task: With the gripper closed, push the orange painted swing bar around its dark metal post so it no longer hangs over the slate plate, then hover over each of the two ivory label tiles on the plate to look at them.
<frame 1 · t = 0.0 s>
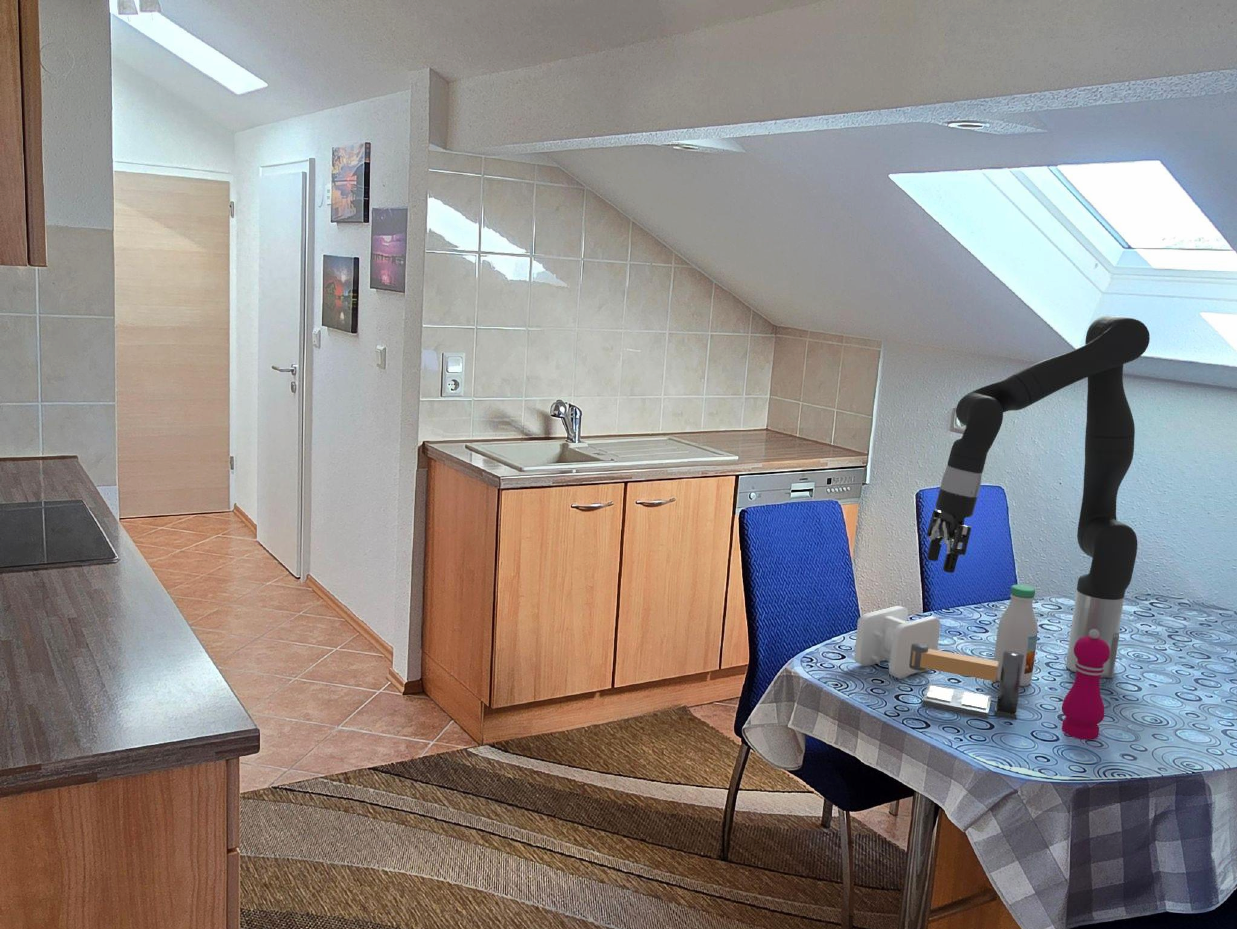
hand: (939, 565, 217), 22 cm above the table, tool pointing down, fingers open, 8 cm apart
milk bottle: (1011, 680, 217), on the table
swing bar: (953, 663, 202), point 8 cm above the table, hinge at 0.0°
pepper mill: (1079, 733, 193), on the table
cable organizer: (893, 668, 220), on the table
post: (1005, 713, 200), on the table
label plate: (956, 703, 203), on the table
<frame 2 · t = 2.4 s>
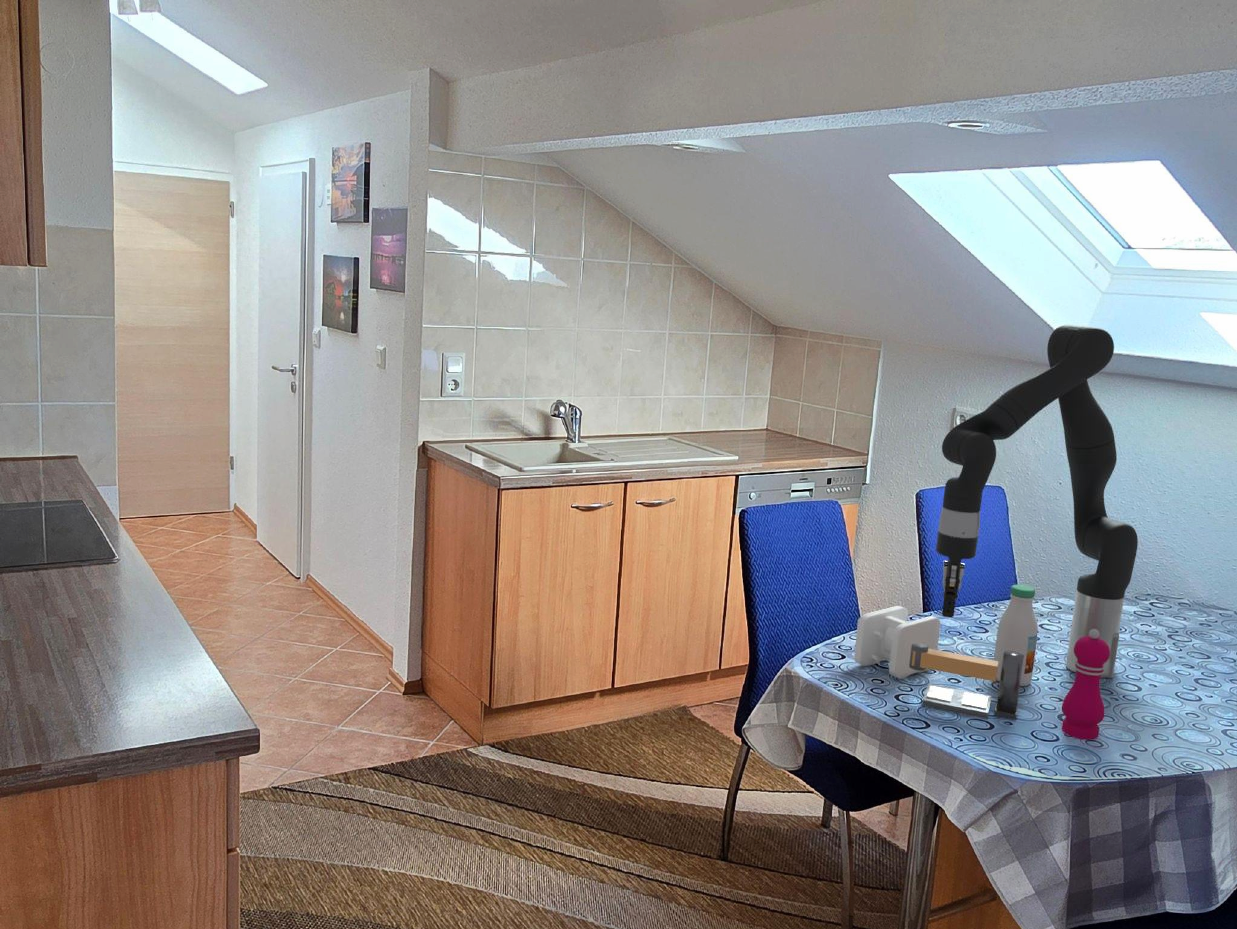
hand: (947, 615, 208), 15 cm above the table, tool pointing down, fingers closed
nothing on the table moved.
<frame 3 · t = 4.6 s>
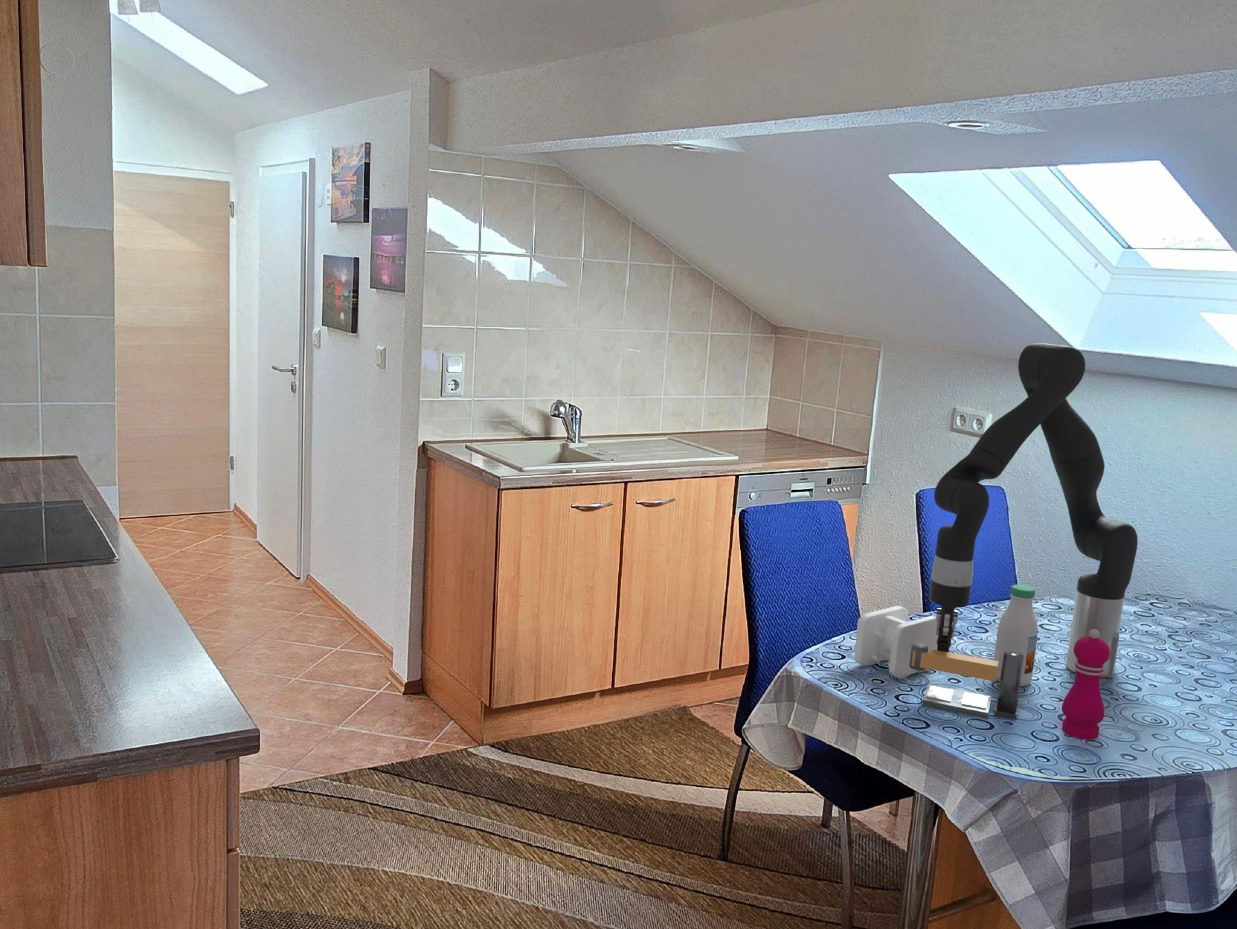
hand: (941, 663, 207), 6 cm above the table, tool pointing down, fingers closed
swing bar: (953, 663, 202), point 8 cm above the table, hinge at 0.0°, touching gripper
everything else where it was.
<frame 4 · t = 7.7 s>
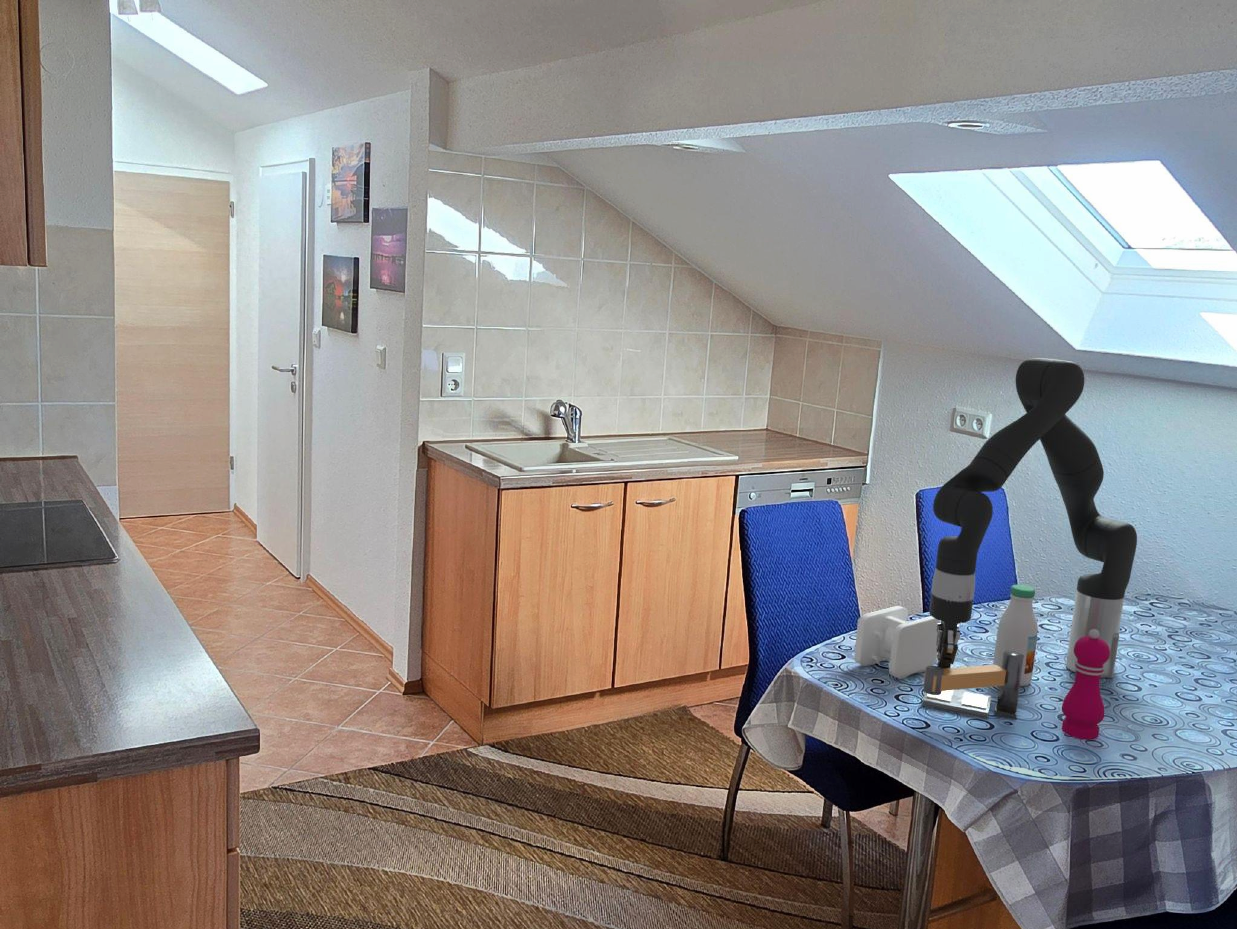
hand: (942, 680, 199), 6 cm above the table, tool pointing down, fingers closed
swing bar: (963, 677, 195), point 8 cm above the table, hinge at 40.8°, touching gripper
everything else where it was.
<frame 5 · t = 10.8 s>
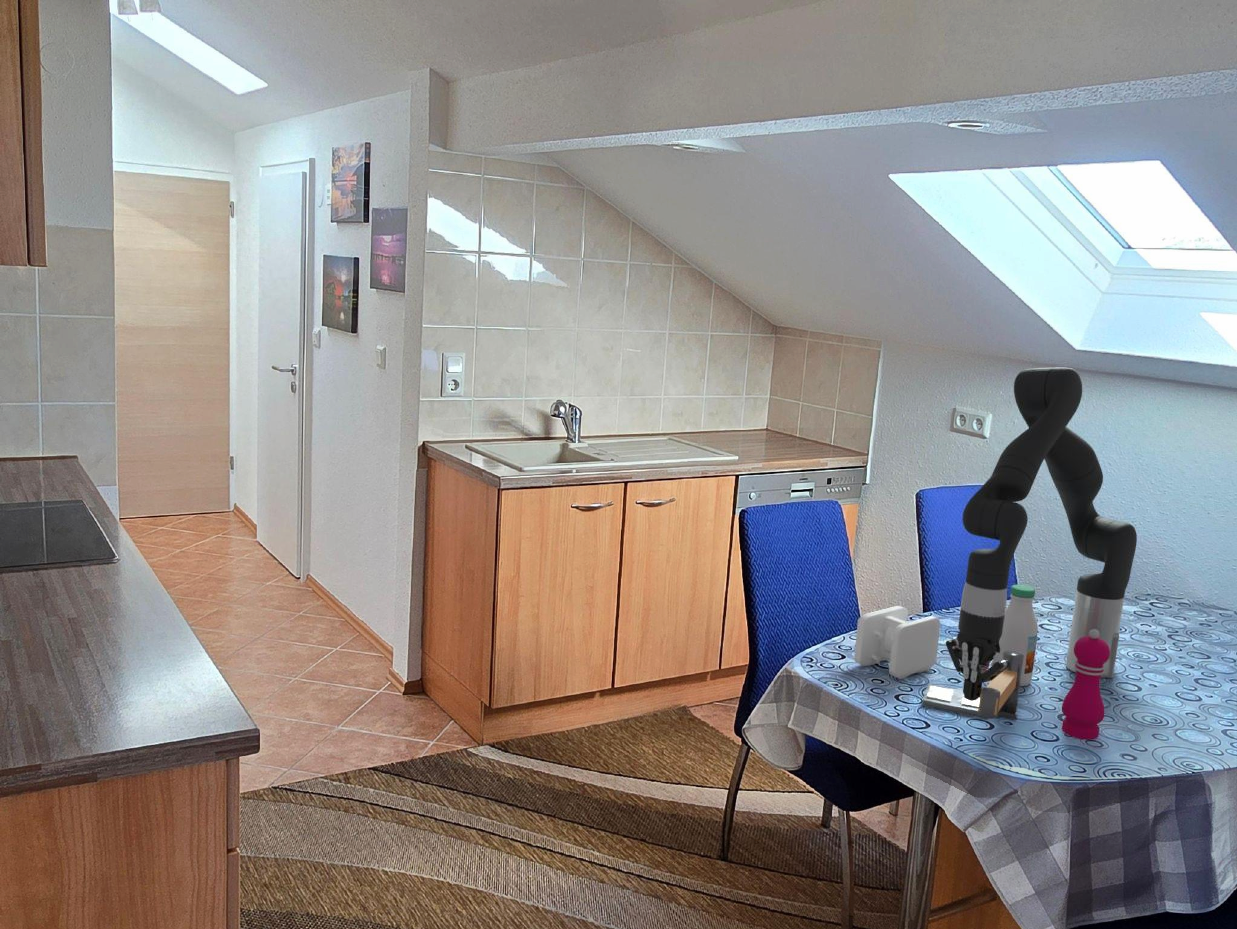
hand: (970, 698, 190), 6 cm above the table, tool pointing down, fingers closed
swing bar: (997, 691, 189), point 8 cm above the table, hinge at 80.7°, touching gripper
everything else where it was.
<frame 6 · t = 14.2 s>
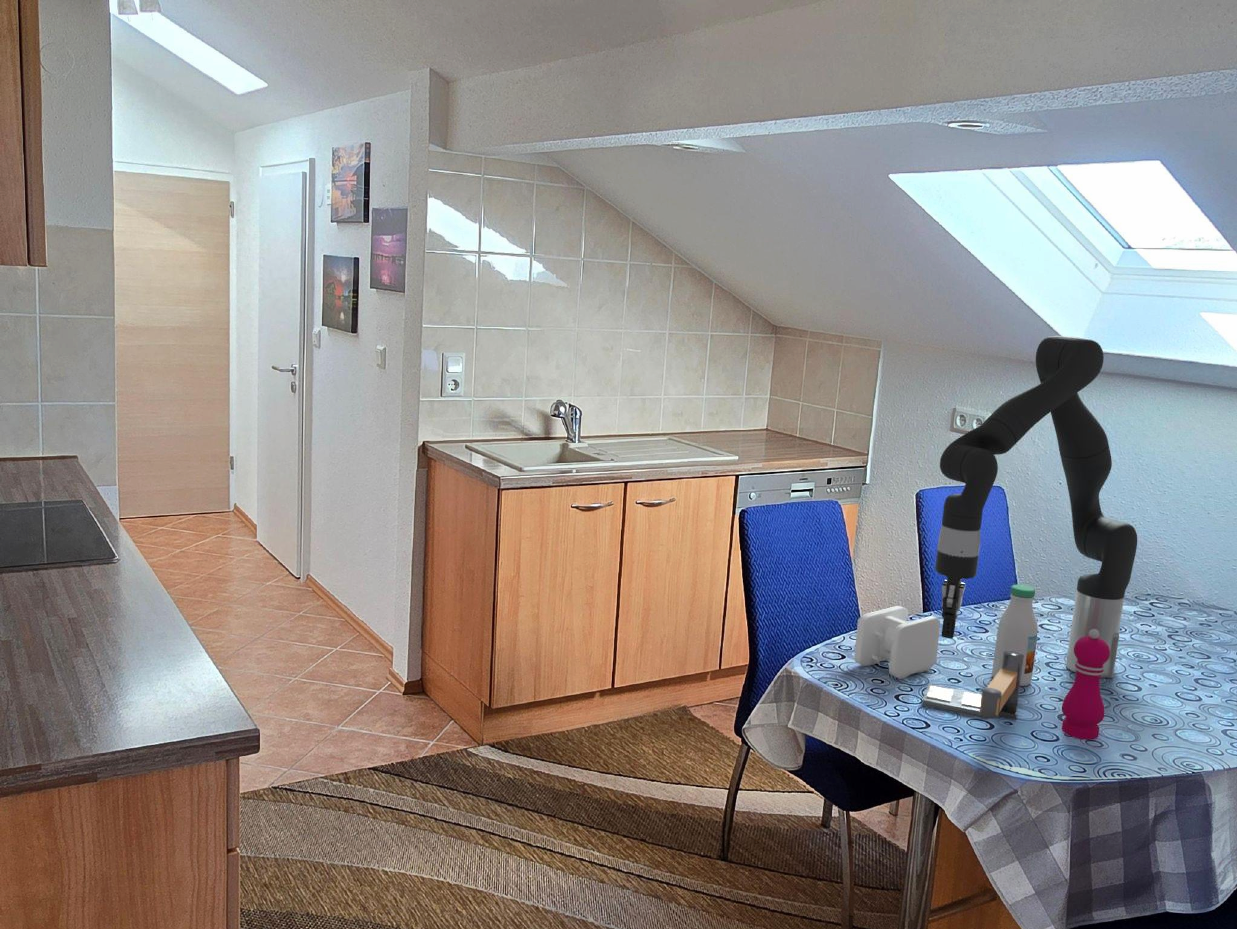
hand: (947, 636, 202), 13 cm above the table, tool pointing down, fingers closed
swing bar: (998, 691, 189), point 8 cm above the table, hinge at 81.4°
everything else where it was.
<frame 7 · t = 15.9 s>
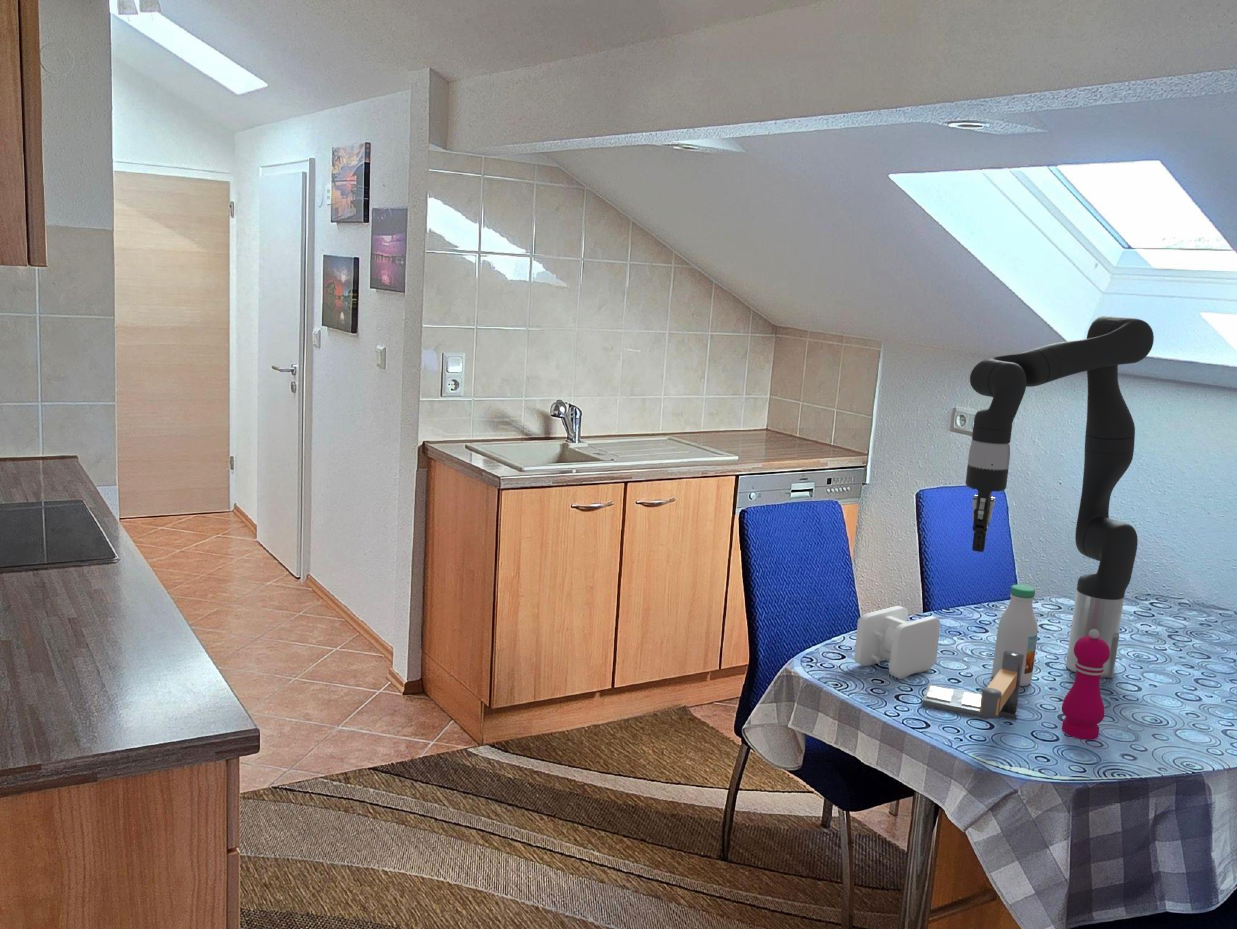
hand: (978, 550, 206), 29 cm above the table, tool pointing down, fingers closed
nothing on the table moved.
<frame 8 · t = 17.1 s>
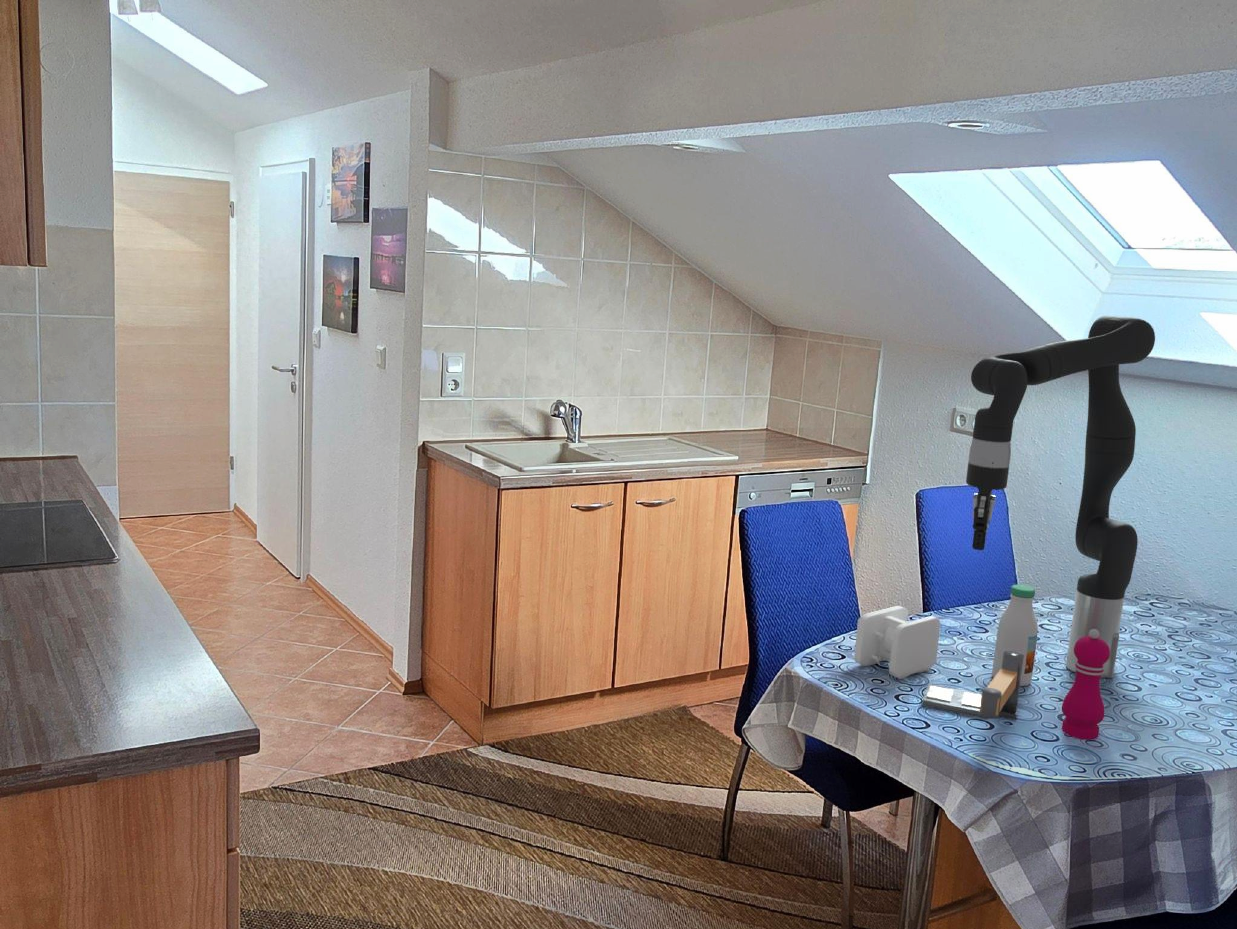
hand: (978, 548, 206), 29 cm above the table, tool pointing down, fingers closed
nothing on the table moved.
at the end: swing bar at +81° (first picture: +0°) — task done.
